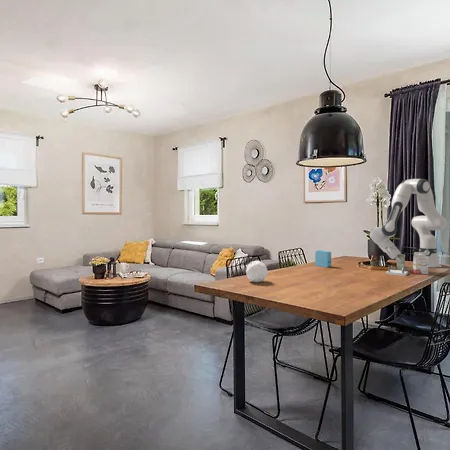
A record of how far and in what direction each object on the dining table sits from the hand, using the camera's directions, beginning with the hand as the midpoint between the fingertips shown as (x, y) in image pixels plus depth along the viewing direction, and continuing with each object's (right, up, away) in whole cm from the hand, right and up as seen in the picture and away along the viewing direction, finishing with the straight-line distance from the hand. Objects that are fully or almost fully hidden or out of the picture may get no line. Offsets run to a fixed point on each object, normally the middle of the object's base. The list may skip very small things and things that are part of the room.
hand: (401, 261), depth 264 cm
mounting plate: (-7, -8, -9) cm, 14 cm away
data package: (-51, -6, +22) cm, 55 cm away
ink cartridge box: (+9, -8, -8) cm, 15 cm away
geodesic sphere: (-107, -9, -35) cm, 113 cm away
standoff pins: (-7, -6, -9) cm, 13 cm away
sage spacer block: (-1, -7, +1) cm, 7 cm away
